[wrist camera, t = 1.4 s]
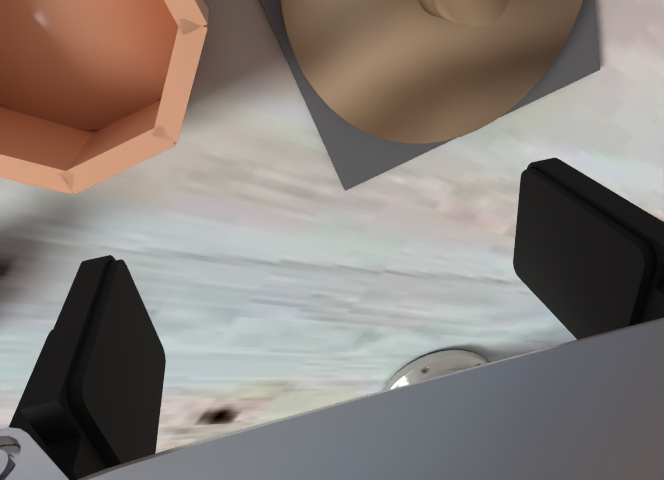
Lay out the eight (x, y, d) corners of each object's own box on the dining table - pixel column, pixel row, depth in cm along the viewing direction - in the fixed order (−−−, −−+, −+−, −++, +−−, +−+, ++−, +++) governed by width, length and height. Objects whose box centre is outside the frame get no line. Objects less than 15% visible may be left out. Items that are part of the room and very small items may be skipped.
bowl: (243, 78, 30) (250, 108, 24) (42, 176, 30) (0, 230, 24) (99, -208, 22) (56, -268, 16) (-168, -71, 23) (-302, -81, 17)
